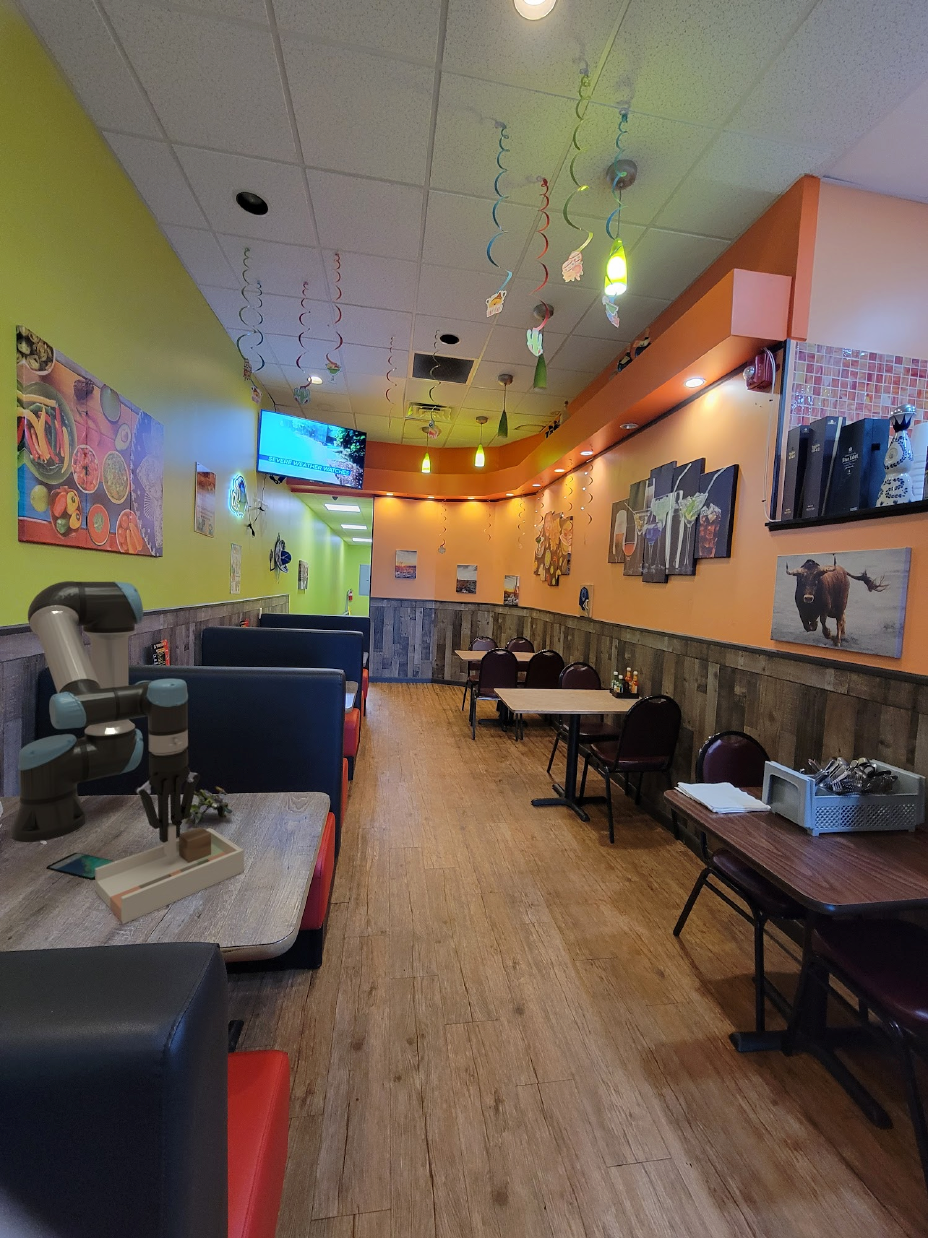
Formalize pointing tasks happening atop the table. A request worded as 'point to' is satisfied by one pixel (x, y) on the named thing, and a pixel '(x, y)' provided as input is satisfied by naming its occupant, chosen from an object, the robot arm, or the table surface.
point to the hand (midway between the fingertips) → (170, 853)
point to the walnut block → (195, 844)
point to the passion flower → (209, 805)
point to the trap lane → (163, 877)
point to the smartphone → (79, 865)
